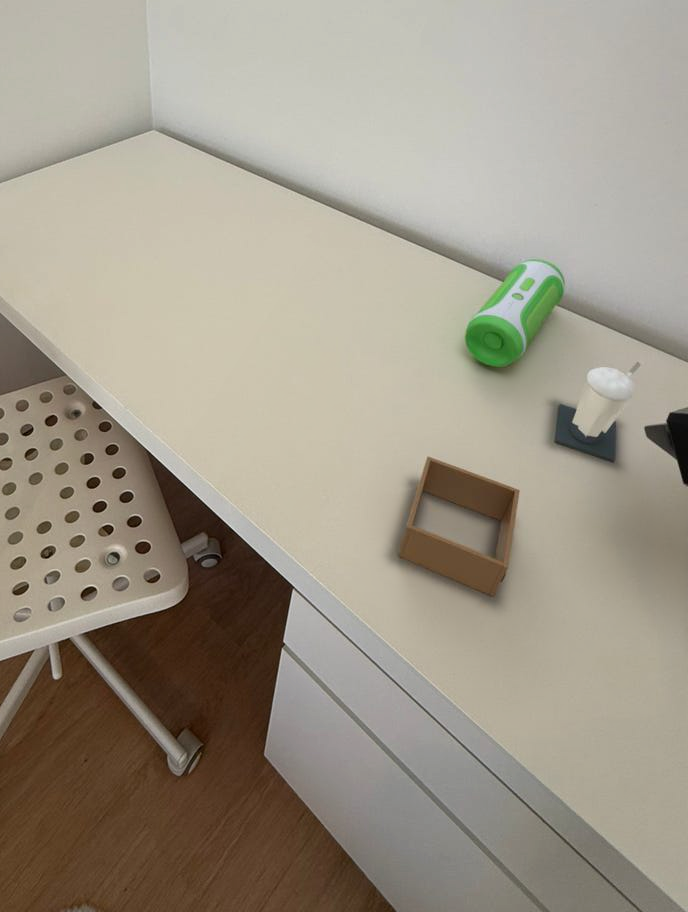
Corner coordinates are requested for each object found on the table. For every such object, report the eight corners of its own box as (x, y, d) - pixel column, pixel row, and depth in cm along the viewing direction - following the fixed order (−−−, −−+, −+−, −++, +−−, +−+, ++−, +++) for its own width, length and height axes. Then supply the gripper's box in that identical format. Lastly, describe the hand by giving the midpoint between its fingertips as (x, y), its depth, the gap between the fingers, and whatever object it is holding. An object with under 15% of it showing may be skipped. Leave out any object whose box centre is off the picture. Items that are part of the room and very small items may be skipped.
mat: (614, 423, 77) (616, 421, 77) (613, 462, 73) (615, 460, 73) (558, 405, 79) (559, 403, 79) (554, 442, 75) (555, 440, 75)
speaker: (510, 381, 83) (528, 336, 78) (454, 354, 86) (468, 310, 82) (558, 311, 93) (576, 267, 89) (506, 289, 97) (521, 247, 92)
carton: (506, 519, 67) (520, 490, 64) (494, 597, 61) (509, 568, 58) (418, 485, 71) (427, 455, 68) (397, 555, 64) (406, 526, 61)
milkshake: (621, 440, 75) (658, 377, 69) (585, 454, 73) (619, 391, 67) (589, 410, 78) (621, 348, 72) (554, 423, 77) (583, 361, 71)
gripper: (936, 302, 51) (739, 318, 66) (745, 349, 47) (581, 356, 62) (984, 448, 50) (771, 431, 65) (792, 510, 46) (613, 477, 61)
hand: (686, 420), depth 63 cm, fingers open, 9 cm apart
